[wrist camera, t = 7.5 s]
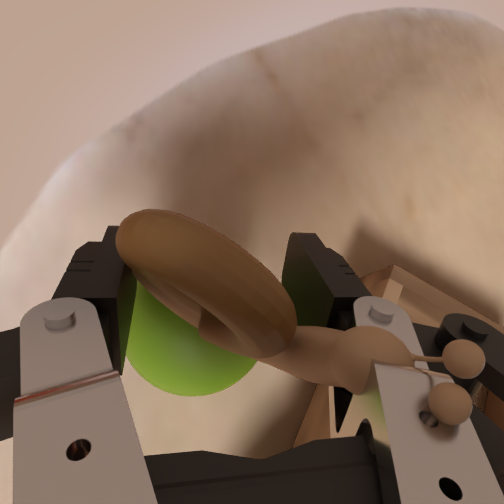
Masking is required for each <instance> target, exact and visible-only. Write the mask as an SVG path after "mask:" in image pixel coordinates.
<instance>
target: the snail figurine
mask: <svg viewBox="0 0 504 504" xmlns="http://www.w3.org/2000/svg"><path fill="white" fill-rule="evenodd" d="M115 242H116V248H117V251H118V254H119V255H120V257H121V259H122V260H123V261H124V262H125V263H126V264H127V265H128V266H129V267H130V268H131V269H132V273H133V275H134V276H135V277H136V279H137V292H136V298H135V303H134V309H133V315H132V321H131V326H130V332H129V338H128V344H127V349H126V356H127V358H128V360H129V362H130V363H131V365H132V366H133V367H134V369H135V370H136V371H137V372H138V373H139V374H140V375H141V376H142V377H143V378H144V379H145V380H146V381H148V382H149V383H150V384H152V385H153V386H155V387H157V388H159V389H161V390H163V391H166V392H168V393H172V394H175V395H181V396H204V395H209V394H213V393H216V392H219V391H221V390H224V389H226V388H228V387H230V386H231V385H233V384H235V383H236V382H237V381H239V380H240V379H241V378H243V377H244V376H245V375H246V374H247V373H248V372H249V371H250V370H251V368H252V367H253V366H254V365H255V363H256V362H257V361H260V362H263V363H266V364H269V365H271V366H274V367H276V368H278V369H280V370H283V371H285V372H287V373H289V374H291V375H293V376H296V377H298V378H301V379H303V380H306V381H309V382H313V383H316V384H321V385H326V386H335V387H343V388H346V389H347V390H348V391H350V392H351V393H353V394H354V395H360V394H361V392H362V391H363V389H364V387H365V385H366V382H367V379H368V375H369V371H370V366H371V359H374V360H378V361H382V362H387V363H393V364H399V365H407V366H412V367H415V364H414V362H415V361H423V362H443V363H444V365H445V367H446V368H447V370H448V371H449V372H450V373H452V374H453V375H455V376H456V377H459V378H462V379H471V378H474V377H476V376H478V375H479V374H480V373H481V372H482V370H483V368H484V366H485V355H484V353H483V351H482V349H481V348H480V347H479V346H478V345H477V344H475V343H473V342H471V341H469V340H464V339H459V340H454V341H452V342H450V343H449V344H447V345H446V347H445V348H444V350H443V354H442V357H427V356H419V355H414V354H412V353H411V352H410V351H409V350H408V348H407V347H406V345H405V344H404V343H403V342H402V341H401V340H400V339H399V338H398V337H397V336H395V335H394V334H392V333H391V332H389V331H387V330H385V329H382V328H379V327H374V326H357V327H353V328H350V329H348V330H346V331H342V330H337V329H332V328H326V327H318V326H297V316H296V311H295V307H294V304H293V302H292V300H291V298H290V296H289V295H288V293H287V292H286V290H285V288H284V287H283V286H282V284H281V283H280V282H279V281H278V280H277V278H276V277H275V276H274V275H273V274H272V273H271V272H270V271H269V270H268V269H267V268H266V267H265V266H264V265H263V264H262V263H261V262H259V261H258V260H257V259H256V258H255V257H253V256H252V255H251V254H250V253H248V252H247V251H246V250H244V249H243V248H242V247H240V246H239V245H237V244H236V243H234V242H233V241H231V240H230V239H228V238H227V237H225V236H223V235H222V234H220V233H218V232H217V231H215V230H213V229H211V228H210V227H208V226H206V225H204V224H202V223H200V222H198V221H195V220H193V219H191V218H188V217H186V216H183V215H181V214H178V213H174V212H170V211H165V210H157V209H146V210H142V211H138V212H135V213H133V214H131V215H129V216H128V217H127V218H125V219H124V220H123V221H122V223H121V224H120V226H119V228H118V230H117V233H116V240H115ZM428 404H429V407H430V410H431V411H432V413H433V414H434V416H435V417H436V418H437V419H439V420H440V421H442V422H443V423H446V424H448V425H459V424H462V423H464V422H465V421H467V420H468V418H469V417H470V415H471V412H472V408H473V405H472V400H471V397H470V395H469V394H468V392H467V391H466V390H465V389H464V388H462V387H461V386H459V385H457V384H454V383H450V382H443V383H439V384H437V385H435V386H434V387H433V388H432V389H431V391H430V393H429V396H428Z"/></svg>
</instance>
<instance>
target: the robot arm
mask: <svg viewBox="0 0 504 504" xmlns="http://www.w3.org/2000/svg"><path fill="white" fill-rule="evenodd" d="M118 228H119V226H108V228H107V230H106V233H105V235H104V238H103V240H102V242H87V243H86V244H84V245H83V246H81V247H80V248H79V249H77V250H76V251H75V253H74V255H73V257H72V259H71V263H69V265H68V267H67V269H66V272H65V273H64V275H63V277H62V279H61V281H60V283H59V285H58V287H57V289H56V291H55V293H54V295H53V297H52V299H51V300H49V301H46V302H43V303H41V304H39V305H37V306H35V307H33V308H32V309H30V310H29V311H28V312H27V313H26V314H25V315H24V316H23V318H22V320H21V322H20V327H17V328H14V329H11V330H7V331H3V332H0V441H2V440H5V439H8V438H11V437H13V504H504V431H503V430H501V429H500V428H499V427H498V426H497V425H496V424H495V423H494V422H493V421H491V420H490V419H489V418H488V417H487V416H486V415H485V414H484V413H483V412H482V411H480V410H479V409H478V408H477V407H476V406H475V405H474V404H473V403H472V405H473V408H472V412H471V415H470V417H469V418H468V420H467V421H465V422H464V423H462V424H459V425H448V424H446V423H443V422H442V421H440V420H439V419H437V418H436V417H435V416H434V414H433V413H432V411H431V410H430V407H429V404H428V396H429V393H430V391H431V389H432V388H433V387H434V386H435V385H437V384H439V383H443V382H450V383H454V384H457V385H459V386H461V387H462V388H464V389H465V390H466V391H467V392H468V394H469V395H470V397H471V400H472V402H473V400H474V398H475V397H476V395H477V394H478V392H479V390H480V389H481V387H482V385H484V386H485V387H486V388H488V389H489V390H490V391H491V392H492V393H494V394H495V395H496V396H497V397H498V398H500V399H501V400H502V401H503V402H504V334H502V333H501V332H500V331H498V330H497V329H495V328H494V327H492V326H491V325H489V324H488V323H486V322H484V321H482V320H480V319H478V318H475V317H473V316H469V315H466V314H460V313H451V314H448V315H446V316H445V317H444V318H443V320H442V322H441V325H440V327H439V328H437V327H432V326H427V325H422V324H417V323H413V322H411V319H410V317H409V315H408V314H407V312H406V311H405V310H404V309H402V308H401V307H400V306H398V305H397V304H395V303H393V302H391V301H389V300H387V299H384V298H380V297H375V296H372V294H371V293H370V292H369V290H368V289H367V288H366V287H365V285H364V284H363V283H362V281H361V280H360V279H359V278H358V276H357V275H355V272H354V271H353V270H352V268H351V267H349V265H348V263H347V262H346V261H345V259H344V258H343V257H342V256H341V255H339V254H338V253H336V252H335V251H333V250H332V249H330V248H326V247H325V246H324V244H323V243H322V242H321V240H320V239H319V237H318V236H317V235H316V234H315V233H296V232H293V233H291V235H290V237H289V241H288V246H287V251H286V256H285V262H284V267H283V272H282V286H283V287H284V288H285V290H286V292H287V293H288V295H289V296H290V298H291V300H292V302H293V304H294V307H295V311H296V316H297V326H318V327H326V328H332V329H337V330H342V331H346V330H348V329H350V328H353V327H357V326H374V327H379V328H382V329H385V330H387V331H389V332H391V333H392V334H394V335H395V336H397V337H398V338H399V339H400V340H401V341H402V342H403V343H404V344H405V345H406V347H407V348H408V350H409V351H410V352H411V353H412V354H414V355H419V356H427V357H442V354H443V350H444V348H445V347H446V345H447V344H449V343H450V342H452V341H454V340H459V339H464V340H469V341H471V342H473V343H475V344H477V345H478V346H479V347H480V348H481V349H482V351H483V353H484V355H485V366H484V368H483V370H482V372H481V373H480V374H479V375H478V376H476V377H474V378H471V379H462V378H459V377H456V376H455V375H453V374H452V373H450V372H449V371H448V370H447V368H446V367H445V365H444V363H443V362H423V361H415V362H414V364H415V367H412V366H407V365H399V364H393V363H387V362H382V361H378V360H374V359H371V366H370V371H369V375H368V379H367V382H366V385H365V387H364V389H363V391H362V392H361V394H360V395H354V394H353V393H351V392H350V391H348V390H347V389H346V388H343V387H335V386H329V412H330V438H329V439H318V440H312V441H310V442H307V443H305V444H302V445H300V446H297V447H295V448H292V449H290V450H287V451H285V452H282V453H280V454H277V455H275V456H272V457H270V458H267V459H261V460H260V459H252V458H246V457H239V456H233V455H227V454H221V453H215V452H208V451H191V452H181V453H170V454H160V455H149V456H143V452H142V449H141V445H140V442H139V439H138V435H137V432H136V428H135V425H134V422H133V418H132V415H131V411H130V408H129V405H128V401H127V398H126V394H125V391H124V388H123V384H122V381H121V378H120V375H122V373H123V367H124V361H125V355H126V349H127V344H128V338H129V332H130V326H131V321H132V315H133V309H134V303H135V298H136V292H137V279H136V277H135V276H134V275H133V273H132V269H131V268H130V267H129V266H128V265H127V264H126V263H125V262H124V261H123V260H122V259H121V257H120V255H119V254H118V251H117V248H116V242H115V240H116V233H117V230H118Z"/></svg>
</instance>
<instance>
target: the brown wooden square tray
mask: <svg viewBox="0 0 504 504" xmlns="http://www.w3.org/2000/svg"><path fill="white" fill-rule="evenodd" d="M359 279H360V280H361V281H362V283H363V284H364V285H365V287H366V288H367V289H368V290H369V292H370V293H371V294H372V296H375V297H380V298H384V299H387V300H389V301H391V302H393V303H395V304H397V305H398V306H400V307H401V308H402V309H404V310H405V311H406V312H407V314H408V315H409V317H410V319H411V322H413V323H417V324H422V325H427V326H432V327H437V328H439V327H440V325H441V322H442V320H443V318H444V317H445V316H446V315H448V314H451V313H460V314H466V315H469V316H473V317H475V318H478V319H480V320H482V321H484V322H486V323H488V324H489V325H491V326H492V327H494V328H495V329H497V330H498V331H500V332H501V333H502V334H504V327H502V326H500V325H499V324H497V323H495V322H494V321H492V320H490V319H488V318H487V317H485V316H483V315H481V314H480V313H478V312H476V311H474V310H473V309H471V308H469V307H468V306H466V305H464V304H462V303H461V302H459V301H457V300H455V299H454V298H452V297H450V296H448V295H447V294H445V293H443V292H442V291H440V290H438V289H436V288H435V287H433V286H431V285H429V284H428V283H426V282H424V281H423V280H421V279H419V278H417V277H416V276H414V275H412V274H410V273H409V272H407V271H405V270H403V269H402V268H400V267H398V266H397V265H395V264H394V265H392V266H389V267H387V268H384V269H382V270H379V271H377V272H374V273H372V274H369V275H367V276H364V277H362V278H359ZM484 414H485V415H486V416H487V417H488V418H489V419H490V420H491V421H493V422H494V423H495V424H496V425H497V426H498V427H499V428H500V429H501V430H503V431H504V402H503V401H502V400H501V399H500V398H498V397H497V396H496V395H495V394H494V393H492V392H491V391H490V390H489V391H488V395H487V400H486V404H485V409H484ZM329 438H330V412H329V386H326V385H321V384H317V386H316V389H315V392H314V394H313V397H312V399H311V402H310V404H309V407H308V409H307V412H306V414H305V417H304V419H303V422H302V424H301V427H300V429H299V432H298V434H297V437H296V439H295V442H294V444H293V447H292V448H295V447H297V446H300V445H302V444H305V443H307V442H310V441H312V440H318V439H329Z"/></svg>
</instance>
